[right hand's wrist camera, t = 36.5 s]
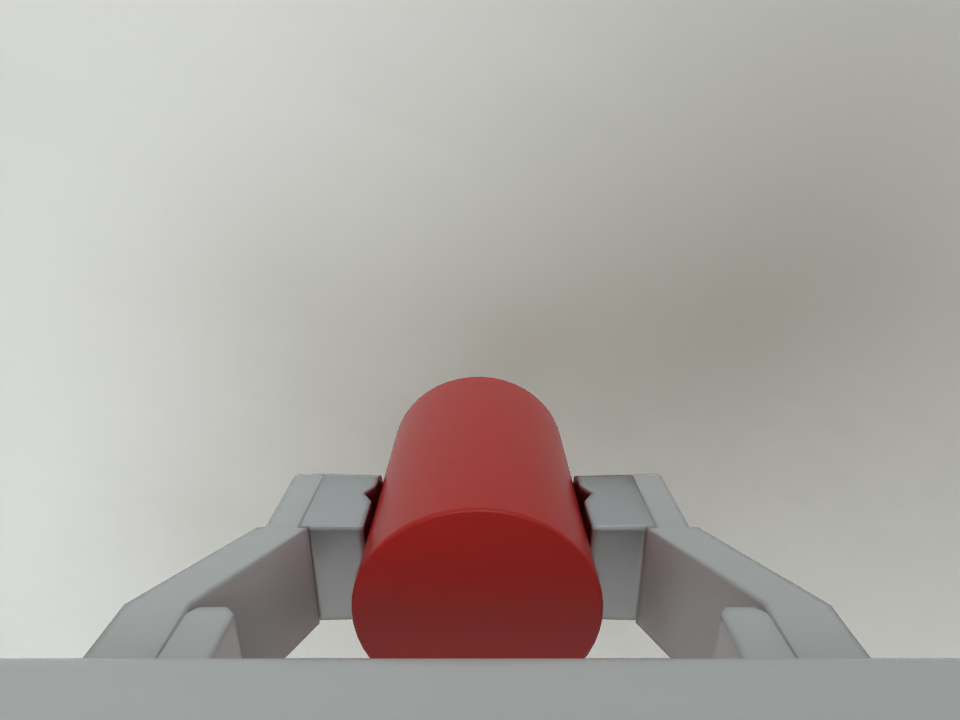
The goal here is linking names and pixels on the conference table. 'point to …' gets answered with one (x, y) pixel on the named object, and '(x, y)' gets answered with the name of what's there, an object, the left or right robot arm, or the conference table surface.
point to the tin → (477, 535)
